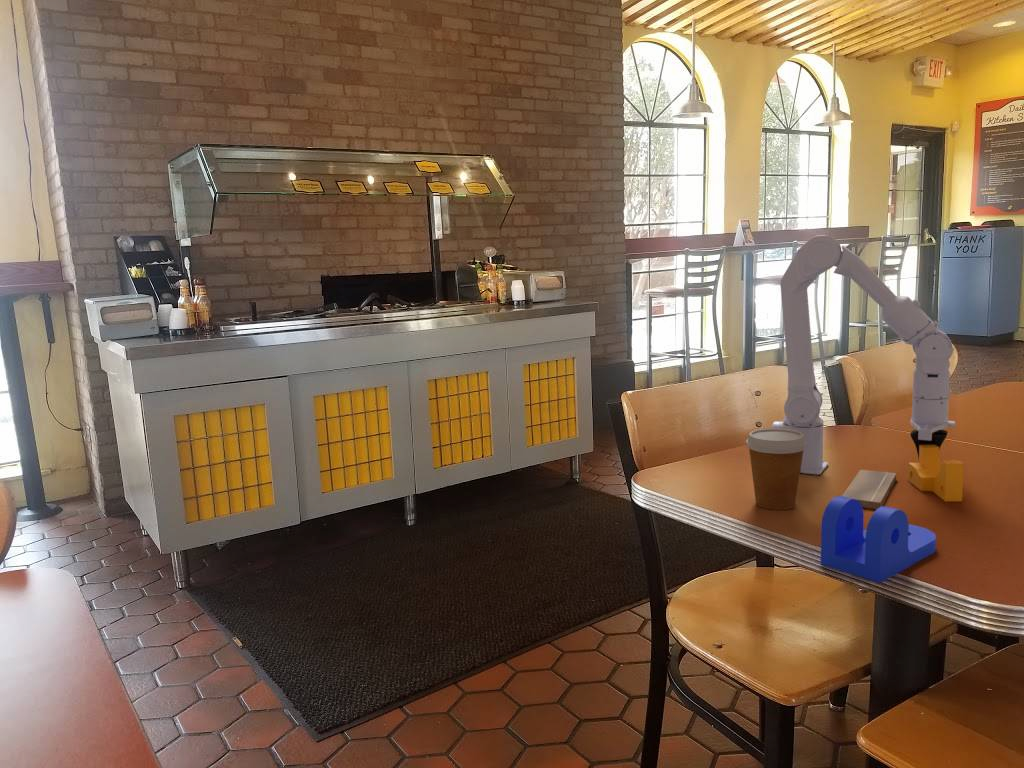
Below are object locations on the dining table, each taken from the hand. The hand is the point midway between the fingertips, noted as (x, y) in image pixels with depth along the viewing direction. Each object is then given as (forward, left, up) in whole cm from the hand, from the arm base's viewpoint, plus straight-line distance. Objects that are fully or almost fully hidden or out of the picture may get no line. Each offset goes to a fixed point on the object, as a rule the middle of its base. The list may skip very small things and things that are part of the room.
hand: (927, 470), depth 143 cm
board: (-8, -14, -1) cm, 15 cm away
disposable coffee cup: (-20, -27, -1) cm, 33 cm away
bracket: (-1, -42, -2) cm, 42 cm away
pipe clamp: (+2, -8, -1) cm, 9 cm away
